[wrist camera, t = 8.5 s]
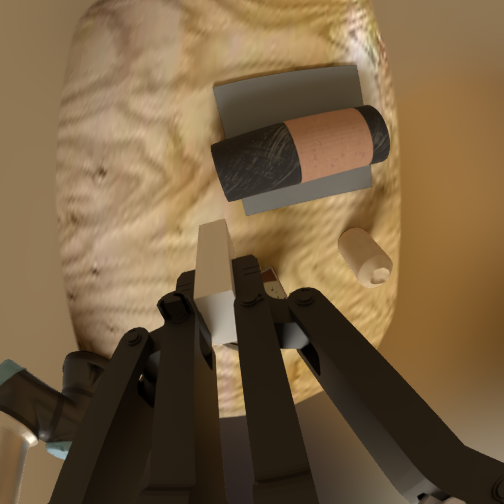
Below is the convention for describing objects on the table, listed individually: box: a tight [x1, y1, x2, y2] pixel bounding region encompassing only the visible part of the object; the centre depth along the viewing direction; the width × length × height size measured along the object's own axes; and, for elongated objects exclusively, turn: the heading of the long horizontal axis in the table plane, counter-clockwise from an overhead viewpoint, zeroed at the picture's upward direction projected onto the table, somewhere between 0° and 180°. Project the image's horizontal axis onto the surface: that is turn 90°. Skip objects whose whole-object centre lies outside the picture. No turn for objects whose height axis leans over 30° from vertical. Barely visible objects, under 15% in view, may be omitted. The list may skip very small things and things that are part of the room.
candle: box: [338, 227, 393, 288], centre depth 41 cm, size 6×6×10 cm
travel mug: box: [211, 105, 390, 202], centre depth 33 cm, size 8×8×20 cm
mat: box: [213, 65, 372, 216], centre depth 36 cm, size 19×18×1 cm
